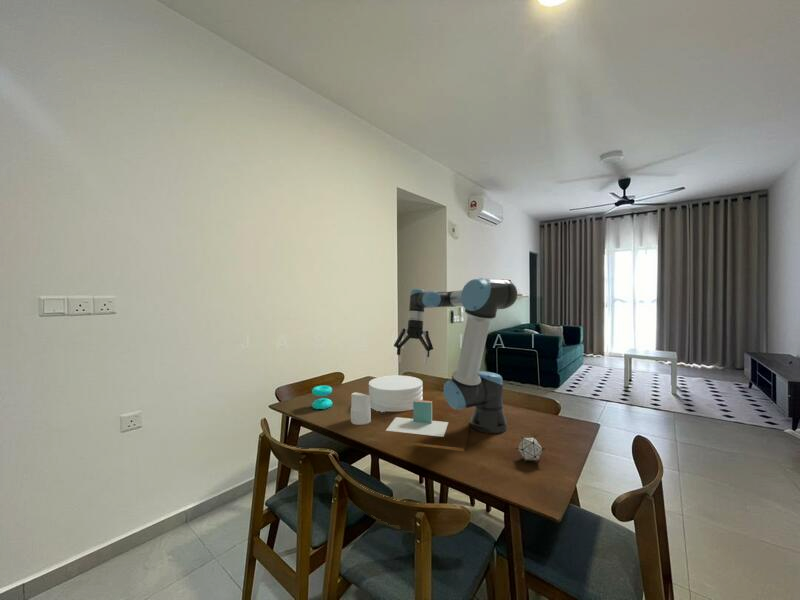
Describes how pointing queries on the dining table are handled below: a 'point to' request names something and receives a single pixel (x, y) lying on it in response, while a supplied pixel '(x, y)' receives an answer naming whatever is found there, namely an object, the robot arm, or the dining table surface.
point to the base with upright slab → (360, 408)
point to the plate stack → (394, 393)
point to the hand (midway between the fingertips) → (412, 362)
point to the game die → (530, 449)
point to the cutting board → (418, 427)
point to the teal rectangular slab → (422, 411)
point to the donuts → (322, 402)
